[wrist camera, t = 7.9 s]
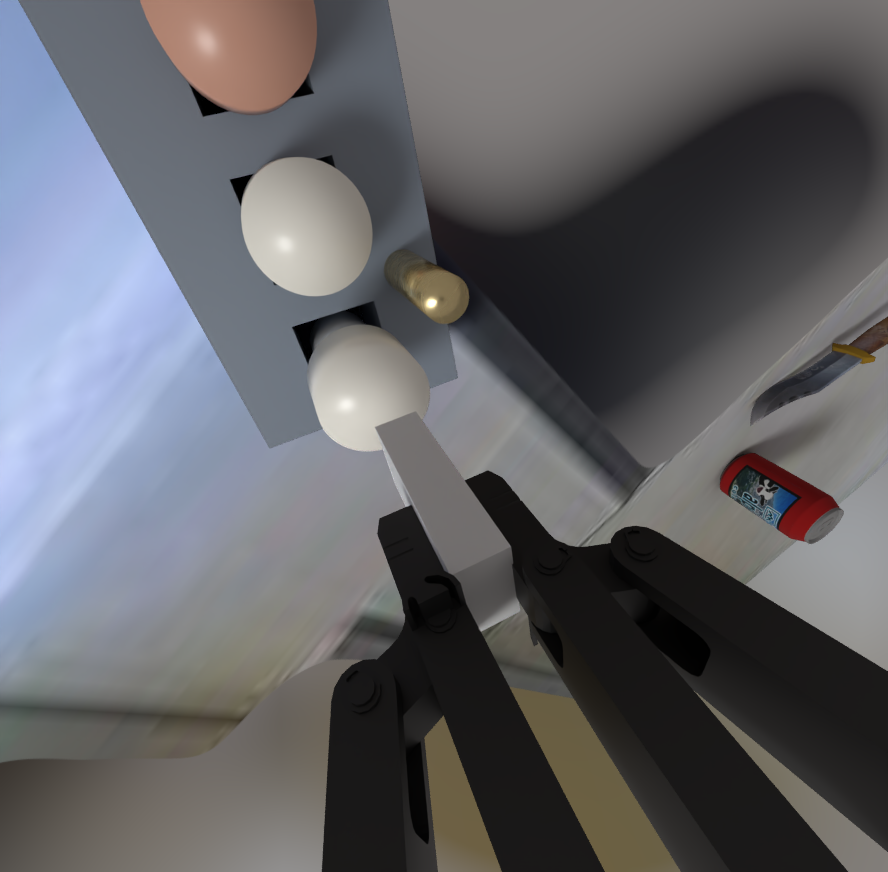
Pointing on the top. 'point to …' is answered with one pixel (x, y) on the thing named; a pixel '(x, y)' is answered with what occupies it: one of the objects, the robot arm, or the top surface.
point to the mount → (242, 153)
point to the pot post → (427, 286)
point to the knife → (822, 371)
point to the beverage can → (780, 498)
